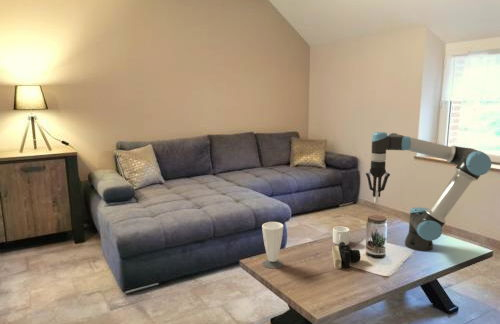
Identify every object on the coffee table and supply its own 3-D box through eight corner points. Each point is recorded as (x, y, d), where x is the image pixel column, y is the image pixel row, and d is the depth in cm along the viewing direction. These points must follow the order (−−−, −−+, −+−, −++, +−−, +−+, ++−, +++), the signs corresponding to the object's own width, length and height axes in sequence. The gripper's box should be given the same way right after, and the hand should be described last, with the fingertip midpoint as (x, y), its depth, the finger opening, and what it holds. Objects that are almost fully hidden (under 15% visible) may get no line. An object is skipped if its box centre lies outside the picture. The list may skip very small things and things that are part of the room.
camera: (362, 268, 193) (363, 250, 191) (342, 268, 193) (342, 250, 191) (356, 257, 206) (357, 240, 204) (337, 257, 207) (337, 240, 205)
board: (337, 254, 210) (337, 245, 209) (341, 268, 193) (341, 259, 192) (332, 253, 211) (332, 245, 210) (335, 268, 193) (335, 259, 192)
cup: (287, 263, 200) (288, 224, 196) (274, 270, 191) (274, 230, 187) (271, 257, 207) (271, 220, 203) (257, 264, 199) (257, 225, 195)
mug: (349, 249, 217) (349, 234, 215) (331, 246, 221) (331, 232, 219) (351, 241, 228) (351, 227, 226) (333, 239, 232) (334, 225, 230)
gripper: (389, 159, 206) (386, 200, 210) (364, 159, 207) (362, 200, 212) (392, 162, 198) (389, 204, 203) (367, 161, 200) (365, 204, 204)
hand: (376, 202), depth 207 cm, fingers closed
